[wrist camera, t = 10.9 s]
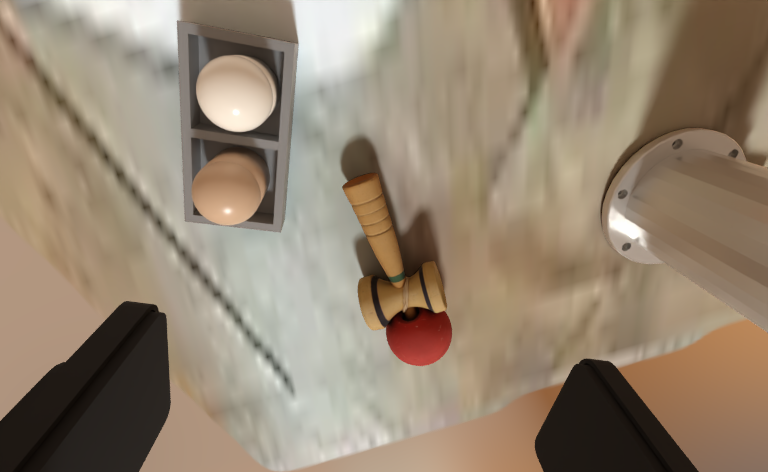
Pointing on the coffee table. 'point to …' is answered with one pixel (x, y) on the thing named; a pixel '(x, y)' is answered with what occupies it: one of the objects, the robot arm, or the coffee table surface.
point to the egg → (237, 92)
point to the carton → (235, 136)
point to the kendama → (398, 284)
